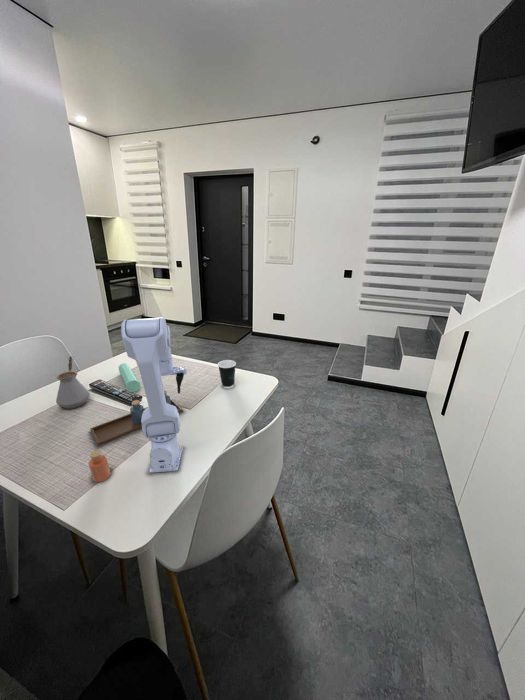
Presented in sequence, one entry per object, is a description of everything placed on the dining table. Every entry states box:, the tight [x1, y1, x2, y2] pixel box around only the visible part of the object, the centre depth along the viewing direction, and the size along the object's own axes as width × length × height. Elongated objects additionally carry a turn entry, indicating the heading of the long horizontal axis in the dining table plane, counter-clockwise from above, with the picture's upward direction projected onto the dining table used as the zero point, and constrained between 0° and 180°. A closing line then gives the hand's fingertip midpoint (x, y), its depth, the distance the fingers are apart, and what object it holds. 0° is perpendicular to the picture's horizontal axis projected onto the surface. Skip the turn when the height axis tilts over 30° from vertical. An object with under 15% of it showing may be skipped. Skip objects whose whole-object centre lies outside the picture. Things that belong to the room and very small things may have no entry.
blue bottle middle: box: [129, 399, 145, 425], centre depth 102 cm, size 4×4×8 cm
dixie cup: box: [217, 359, 237, 389], centre depth 126 cm, size 8×8×11 cm
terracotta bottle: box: [88, 449, 111, 483], centre depth 79 cm, size 4×4×8 cm
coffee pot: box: [55, 356, 91, 410], centre depth 116 cm, size 21×12×15 cm, turn 25°
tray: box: [89, 398, 184, 447], centre depth 103 cm, size 29×10×2 cm, turn 131°
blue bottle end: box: [164, 390, 171, 405], centre depth 108 cm, size 4×4×8 cm
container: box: [118, 362, 141, 393], centre depth 132 cm, size 6×6×25 cm
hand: (168, 393), depth 103 cm, fingers open, 7 cm apart
